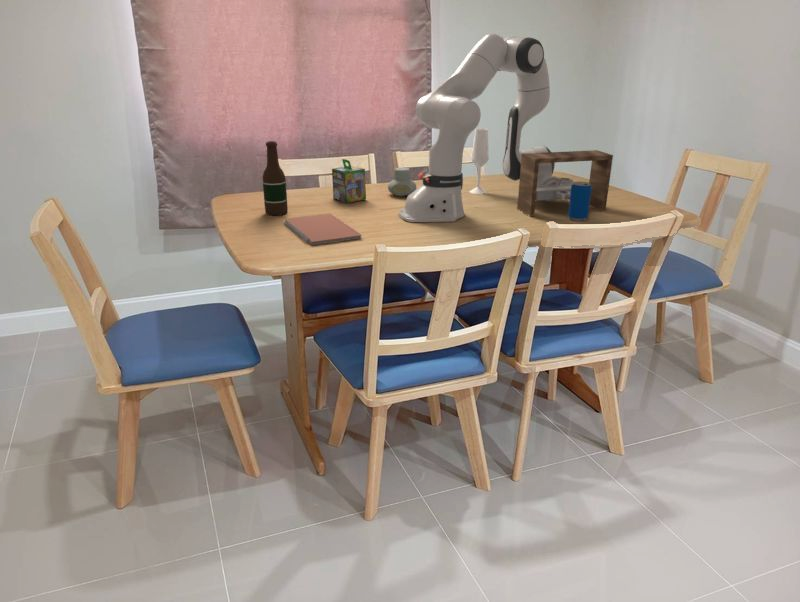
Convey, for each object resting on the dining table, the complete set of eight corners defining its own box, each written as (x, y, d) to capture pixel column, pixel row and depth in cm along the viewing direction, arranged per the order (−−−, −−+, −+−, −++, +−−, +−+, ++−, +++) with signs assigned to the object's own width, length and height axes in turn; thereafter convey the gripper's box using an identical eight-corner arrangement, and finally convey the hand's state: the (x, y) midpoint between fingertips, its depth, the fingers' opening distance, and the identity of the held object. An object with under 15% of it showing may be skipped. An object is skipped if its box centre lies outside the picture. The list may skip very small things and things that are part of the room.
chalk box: (366, 200, 233) (365, 159, 227) (345, 203, 228) (344, 162, 222) (352, 195, 240) (352, 156, 234) (332, 198, 235) (330, 158, 229)
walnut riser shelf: (529, 216, 213) (535, 158, 205) (517, 209, 222) (521, 153, 214) (605, 211, 220) (613, 155, 212) (590, 204, 229) (596, 150, 221)
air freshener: (386, 197, 238) (386, 170, 234) (389, 191, 245) (389, 166, 241) (415, 197, 236) (415, 171, 232) (417, 192, 244) (417, 167, 240)
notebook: (281, 224, 205) (281, 218, 204) (330, 218, 212) (330, 212, 211) (308, 247, 183) (308, 241, 182) (362, 240, 189) (362, 234, 189)
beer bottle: (279, 209, 220) (274, 139, 211) (292, 213, 215) (288, 142, 206) (260, 213, 215) (254, 141, 206) (273, 217, 210) (268, 144, 201)
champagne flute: (482, 189, 249) (485, 127, 240) (489, 193, 244) (493, 129, 234) (466, 190, 248) (469, 128, 238) (473, 194, 242) (477, 130, 232)
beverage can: (587, 221, 208) (592, 186, 203) (567, 220, 209) (571, 184, 204) (587, 216, 213) (591, 181, 209) (567, 215, 215) (571, 180, 210)
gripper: (523, 181, 224) (541, 189, 212) (574, 178, 229) (595, 186, 217) (522, 198, 226) (539, 208, 214) (572, 195, 231) (593, 204, 219)
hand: (568, 197), depth 215 cm, fingers closed
